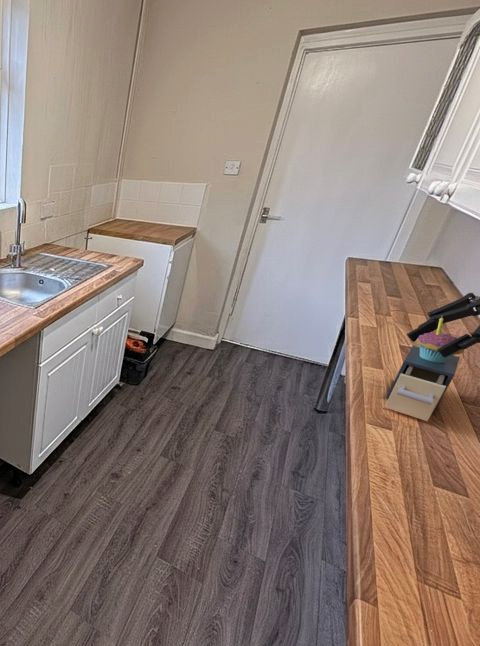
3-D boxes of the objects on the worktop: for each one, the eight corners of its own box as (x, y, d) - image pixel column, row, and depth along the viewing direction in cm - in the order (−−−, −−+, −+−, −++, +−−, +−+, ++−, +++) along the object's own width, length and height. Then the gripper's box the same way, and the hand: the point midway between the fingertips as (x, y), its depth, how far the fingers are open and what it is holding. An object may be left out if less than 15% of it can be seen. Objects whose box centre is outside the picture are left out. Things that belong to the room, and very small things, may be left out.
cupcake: (413, 360, 108) (434, 318, 104) (406, 348, 115) (425, 308, 110) (460, 369, 104) (484, 326, 99) (450, 356, 110) (472, 315, 106)
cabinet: (433, 413, 107) (454, 374, 102) (386, 397, 113) (404, 360, 108) (440, 393, 115) (460, 357, 110) (395, 380, 121) (412, 345, 117)
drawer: (424, 429, 99) (443, 394, 95) (380, 413, 105) (396, 380, 101) (434, 402, 110) (451, 370, 106) (393, 389, 115) (408, 358, 111)
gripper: (587, 316, 91) (471, 375, 99) (488, 286, 111) (397, 337, 119) (574, 293, 90) (457, 354, 98) (475, 267, 109) (385, 320, 117)
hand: (425, 345), depth 108 cm, fingers closed on cupcake, 8 cm apart
